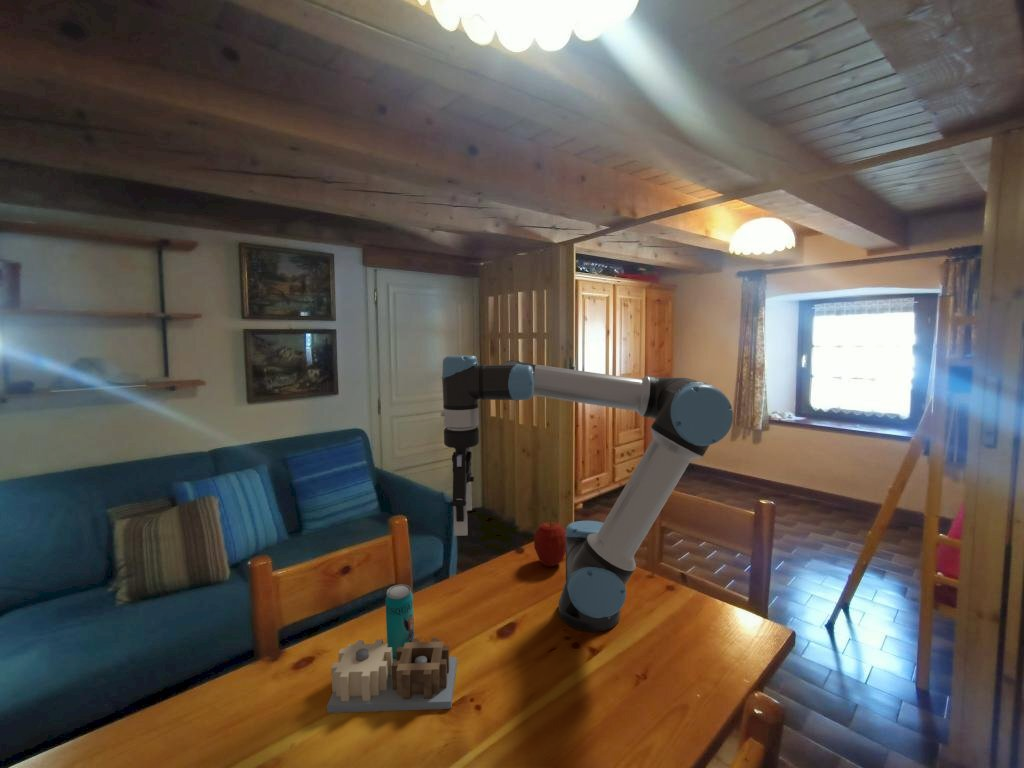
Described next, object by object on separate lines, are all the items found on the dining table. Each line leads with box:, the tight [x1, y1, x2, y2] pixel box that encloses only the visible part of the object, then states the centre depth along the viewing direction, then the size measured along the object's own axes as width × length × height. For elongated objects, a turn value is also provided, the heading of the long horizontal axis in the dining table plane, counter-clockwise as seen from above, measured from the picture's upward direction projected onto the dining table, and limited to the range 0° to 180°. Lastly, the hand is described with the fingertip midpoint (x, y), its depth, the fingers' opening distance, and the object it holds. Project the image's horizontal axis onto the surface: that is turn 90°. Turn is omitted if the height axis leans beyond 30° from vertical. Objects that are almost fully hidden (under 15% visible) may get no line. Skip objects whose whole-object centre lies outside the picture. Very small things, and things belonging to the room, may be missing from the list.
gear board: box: [326, 639, 458, 714], centre depth 92 cm, size 23×12×8 cm, turn 91°
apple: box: [533, 520, 566, 568], centre depth 140 cm, size 10×10×14 cm
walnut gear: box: [392, 637, 450, 700], centre depth 92 cm, size 10×10×5 cm
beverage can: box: [384, 583, 415, 659], centre depth 100 cm, size 6×6×15 cm
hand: (463, 521), depth 102 cm, fingers open, 13 cm apart
